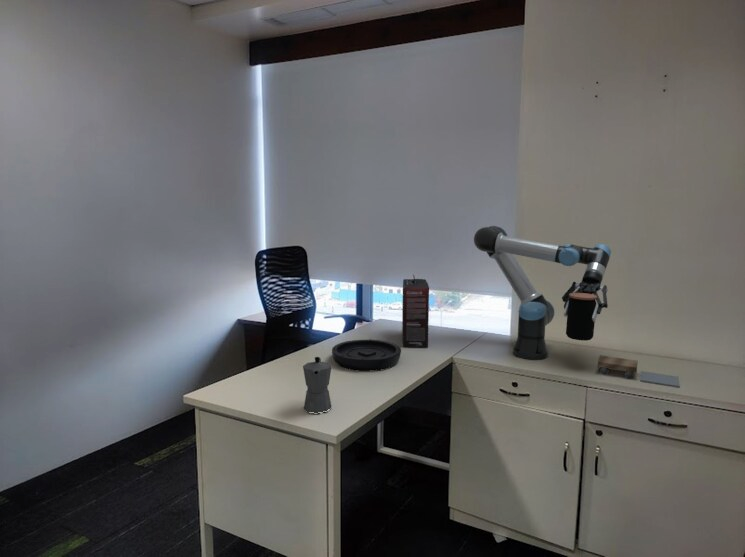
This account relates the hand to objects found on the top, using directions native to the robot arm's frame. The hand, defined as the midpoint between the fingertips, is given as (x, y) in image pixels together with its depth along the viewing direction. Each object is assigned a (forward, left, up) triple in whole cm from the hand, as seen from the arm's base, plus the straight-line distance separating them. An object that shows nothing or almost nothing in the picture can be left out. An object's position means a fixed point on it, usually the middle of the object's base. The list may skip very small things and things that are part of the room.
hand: (578, 317), depth 202 cm
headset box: (-76, +4, -22) cm, 79 cm away
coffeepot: (-70, -86, -22) cm, 113 cm away
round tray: (-81, -35, -23) cm, 91 cm away
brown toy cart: (+15, +3, -22) cm, 27 cm away
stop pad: (+30, +3, -22) cm, 38 cm away
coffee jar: (0, +3, -9) cm, 10 cm away
